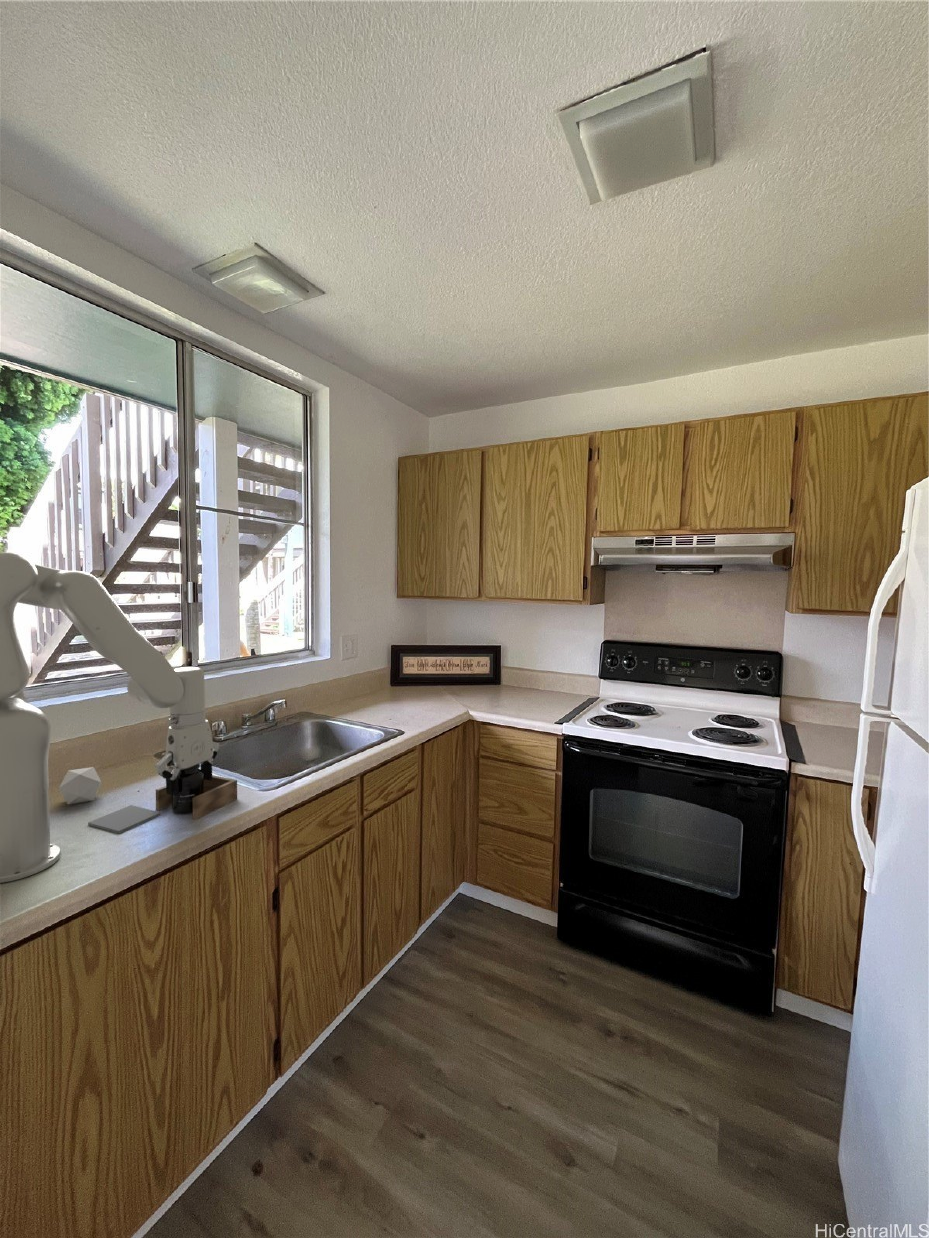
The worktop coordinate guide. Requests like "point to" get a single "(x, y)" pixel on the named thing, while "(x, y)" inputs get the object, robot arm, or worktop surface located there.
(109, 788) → the worktop surface
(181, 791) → the supplement bottle
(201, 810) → the cubby
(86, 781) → the die
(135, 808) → the pad
